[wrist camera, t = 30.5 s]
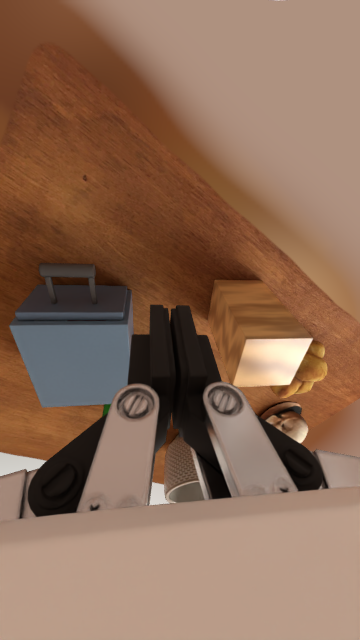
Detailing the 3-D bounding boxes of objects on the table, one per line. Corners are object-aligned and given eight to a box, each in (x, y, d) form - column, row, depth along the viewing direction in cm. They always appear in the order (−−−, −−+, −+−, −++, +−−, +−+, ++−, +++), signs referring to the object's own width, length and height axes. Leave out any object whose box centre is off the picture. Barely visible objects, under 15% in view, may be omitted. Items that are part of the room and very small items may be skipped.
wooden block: (214, 279, 38) (246, 339, 26) (261, 280, 39) (313, 338, 27) (207, 320, 43) (231, 387, 31) (250, 320, 44) (289, 385, 32)
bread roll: (306, 328, 47) (332, 356, 40) (329, 350, 51) (355, 379, 44) (255, 366, 51) (270, 397, 45) (279, 383, 56) (297, 414, 49)
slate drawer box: (37, 288, 36) (8, 325, 28) (131, 290, 38) (127, 324, 30) (59, 364, 45) (42, 407, 37) (134, 362, 47) (132, 403, 39)
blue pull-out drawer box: (26, 247, 31) (-2, 270, 25) (125, 251, 33) (120, 273, 27) (58, 358, 43) (44, 392, 37) (130, 356, 44) (128, 388, 38)
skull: (262, 438, 67) (270, 456, 57) (250, 402, 69) (255, 413, 58) (305, 427, 66) (320, 444, 56) (291, 390, 67) (304, 400, 57)
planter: (222, 434, 66) (237, 488, 55) (186, 456, 70) (193, 509, 60) (188, 417, 59) (197, 474, 49) (150, 442, 64) (151, 499, 53)
